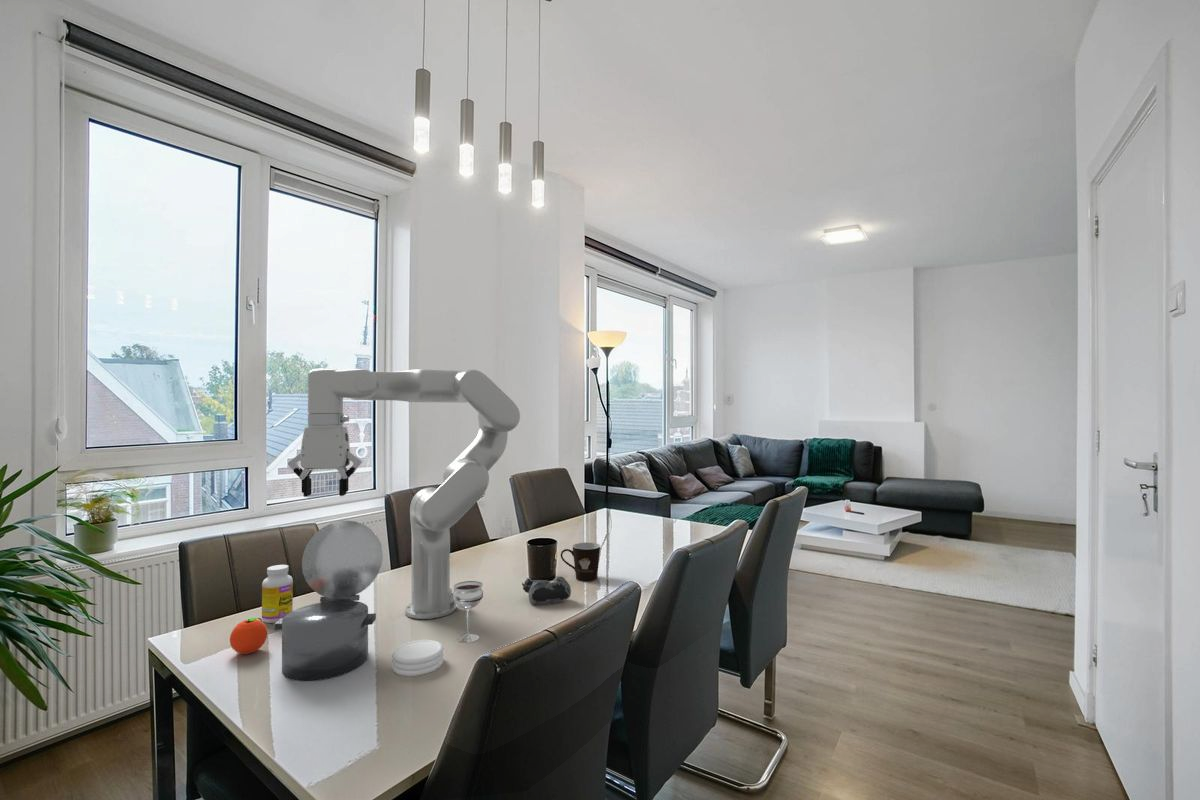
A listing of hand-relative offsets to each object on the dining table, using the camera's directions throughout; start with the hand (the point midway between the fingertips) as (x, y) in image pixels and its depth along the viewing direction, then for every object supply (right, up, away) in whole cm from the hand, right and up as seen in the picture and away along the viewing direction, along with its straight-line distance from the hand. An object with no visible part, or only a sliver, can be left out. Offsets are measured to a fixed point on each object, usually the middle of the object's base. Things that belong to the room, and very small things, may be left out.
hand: (325, 495), depth 134 cm
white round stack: (+28, -32, -19) cm, 47 cm away
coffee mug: (+60, -32, +40) cm, 79 cm away
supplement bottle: (-15, -32, +6) cm, 36 cm away
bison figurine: (+51, -32, +20) cm, 63 cm away
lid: (+7, -14, -7) cm, 17 cm away
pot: (+9, -32, -17) cm, 37 cm away
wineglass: (+35, -32, -5) cm, 48 cm away
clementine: (-10, -32, -12) cm, 36 cm away
